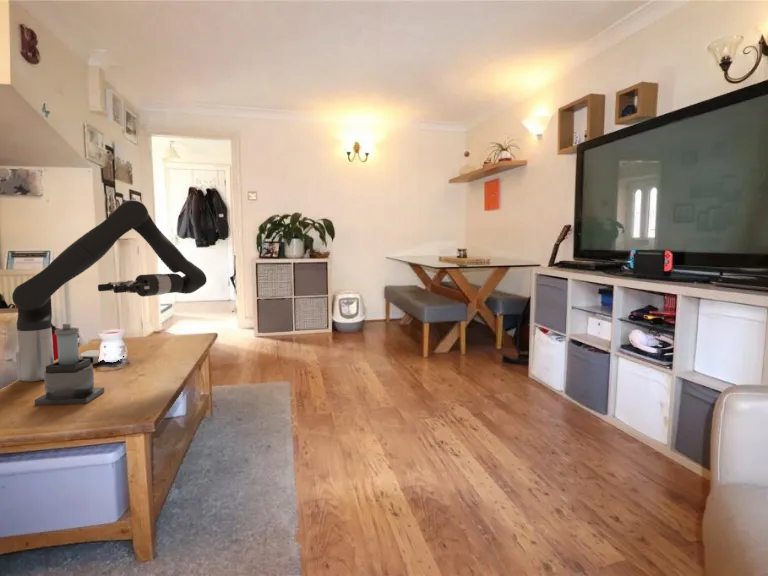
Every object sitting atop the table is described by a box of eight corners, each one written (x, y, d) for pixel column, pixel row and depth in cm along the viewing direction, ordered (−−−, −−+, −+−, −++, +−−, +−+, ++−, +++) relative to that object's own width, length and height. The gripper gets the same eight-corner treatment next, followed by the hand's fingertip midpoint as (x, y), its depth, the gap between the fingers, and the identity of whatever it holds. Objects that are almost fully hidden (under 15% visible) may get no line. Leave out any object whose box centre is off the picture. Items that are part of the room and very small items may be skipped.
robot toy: (128, 360, 180) (86, 359, 176) (129, 349, 180) (87, 348, 176) (118, 368, 168) (73, 368, 164) (119, 357, 168) (73, 356, 164)
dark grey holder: (32, 406, 127) (29, 368, 126) (62, 389, 141) (60, 356, 140) (84, 404, 129) (82, 367, 128) (109, 388, 143) (107, 355, 141)
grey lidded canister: (52, 371, 130) (49, 326, 128) (64, 366, 136) (62, 322, 134) (74, 371, 130) (71, 325, 129) (85, 366, 136) (82, 322, 135)
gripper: (140, 273, 159) (92, 276, 145) (166, 275, 153) (119, 278, 138) (141, 294, 160) (94, 298, 146) (166, 296, 153) (120, 302, 139)
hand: (106, 288), depth 142 cm, fingers open, 8 cm apart
